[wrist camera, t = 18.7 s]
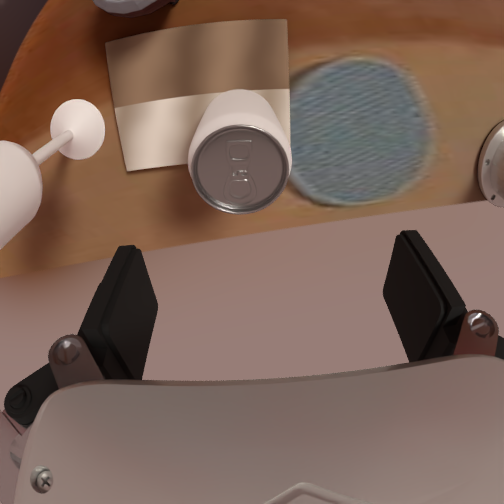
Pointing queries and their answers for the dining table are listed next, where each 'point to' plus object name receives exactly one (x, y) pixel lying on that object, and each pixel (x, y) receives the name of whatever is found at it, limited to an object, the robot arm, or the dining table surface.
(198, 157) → the can
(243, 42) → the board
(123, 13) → the mate gourd
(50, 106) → the dining table surface
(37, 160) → the champagne flute
